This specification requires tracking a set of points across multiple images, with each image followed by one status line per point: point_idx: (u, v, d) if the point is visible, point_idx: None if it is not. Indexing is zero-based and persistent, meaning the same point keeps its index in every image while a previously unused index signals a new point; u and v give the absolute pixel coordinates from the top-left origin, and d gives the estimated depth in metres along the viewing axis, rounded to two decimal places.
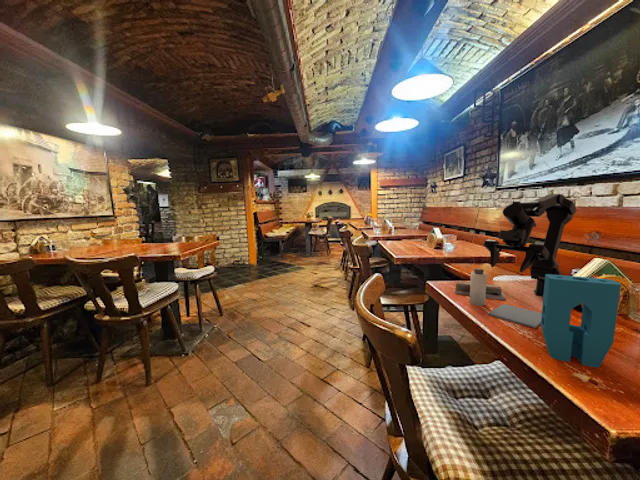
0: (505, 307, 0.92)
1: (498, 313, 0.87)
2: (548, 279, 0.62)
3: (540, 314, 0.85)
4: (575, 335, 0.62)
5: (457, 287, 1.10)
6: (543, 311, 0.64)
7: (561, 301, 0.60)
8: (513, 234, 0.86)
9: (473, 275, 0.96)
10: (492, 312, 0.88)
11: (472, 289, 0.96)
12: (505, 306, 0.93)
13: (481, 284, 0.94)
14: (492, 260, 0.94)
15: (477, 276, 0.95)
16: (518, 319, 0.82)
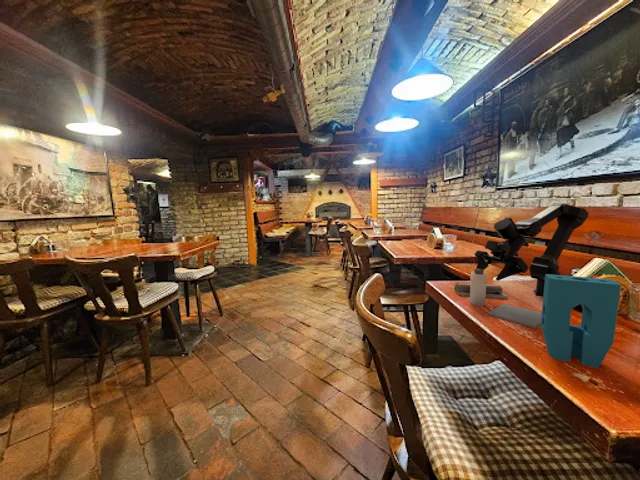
0: (505, 307, 0.92)
1: (498, 313, 0.87)
2: (548, 279, 0.62)
3: (540, 314, 0.85)
4: (575, 335, 0.62)
5: (459, 288, 1.08)
6: (543, 311, 0.64)
7: (561, 301, 0.60)
8: (496, 244, 0.94)
9: (473, 275, 0.96)
10: (492, 312, 0.88)
11: (472, 289, 0.96)
12: (505, 306, 0.93)
13: (481, 284, 0.94)
14: (477, 268, 1.02)
15: (477, 276, 0.95)
16: (518, 319, 0.82)
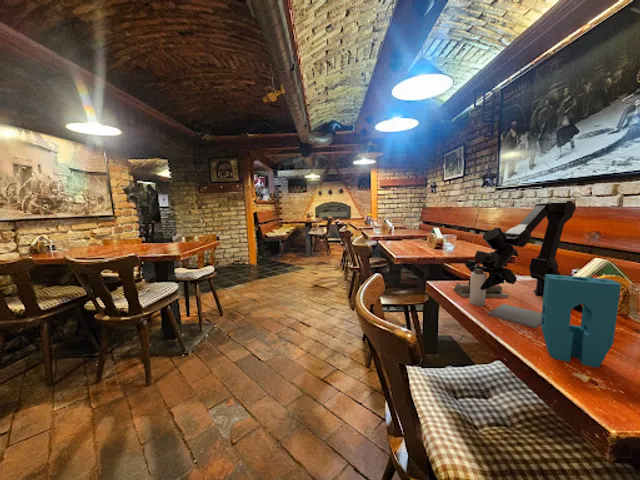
0: (505, 307, 0.92)
1: (498, 313, 0.87)
2: (548, 279, 0.62)
3: (540, 314, 0.85)
4: (575, 335, 0.62)
5: (463, 290, 1.07)
6: (543, 311, 0.64)
7: (561, 301, 0.60)
8: (485, 255, 0.93)
9: (473, 275, 0.96)
10: (492, 312, 0.88)
11: (472, 289, 0.96)
12: (505, 306, 0.93)
13: (481, 284, 0.94)
14: (470, 279, 1.00)
15: (477, 276, 0.95)
16: (518, 319, 0.82)
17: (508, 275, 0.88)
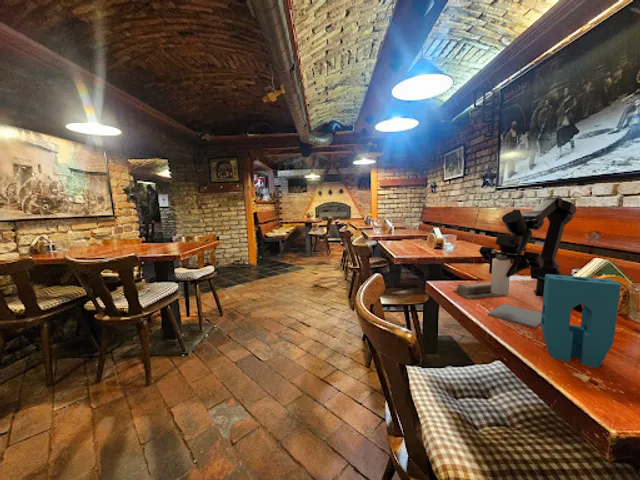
0: (505, 307, 0.92)
1: (498, 313, 0.87)
2: (548, 279, 0.62)
3: (540, 314, 0.85)
4: (575, 335, 0.62)
5: (468, 291, 1.04)
6: (543, 311, 0.64)
7: (561, 301, 0.60)
8: (510, 239, 0.86)
9: (497, 262, 0.88)
10: (492, 312, 0.88)
11: (496, 276, 0.88)
12: (505, 306, 0.93)
13: (506, 271, 0.87)
14: (491, 266, 0.92)
15: (502, 262, 0.87)
16: (518, 319, 0.82)
17: (538, 259, 0.82)
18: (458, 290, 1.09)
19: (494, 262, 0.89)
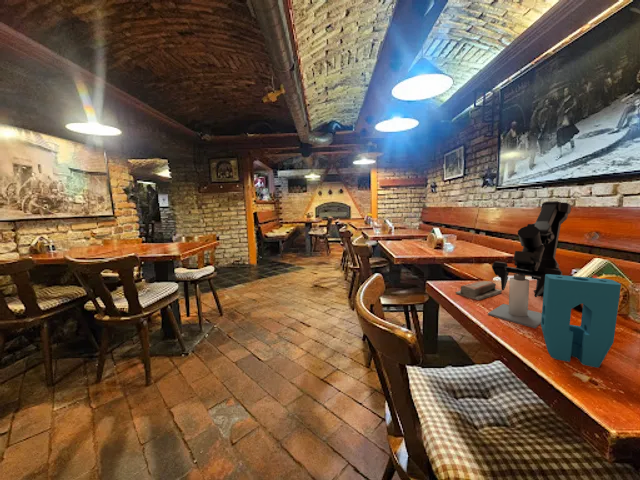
0: (505, 307, 0.92)
1: (498, 313, 0.87)
2: (548, 279, 0.62)
3: (540, 314, 0.85)
4: (575, 335, 0.62)
5: (475, 293, 1.03)
6: (543, 311, 0.64)
7: (561, 301, 0.60)
8: (530, 255, 0.82)
9: (517, 282, 0.84)
10: (492, 312, 0.88)
11: (516, 298, 0.84)
12: (505, 306, 0.93)
13: (526, 292, 0.83)
14: (503, 282, 0.88)
15: (522, 283, 0.83)
16: (518, 319, 0.82)
17: None
18: (463, 292, 1.06)
19: (513, 283, 0.85)
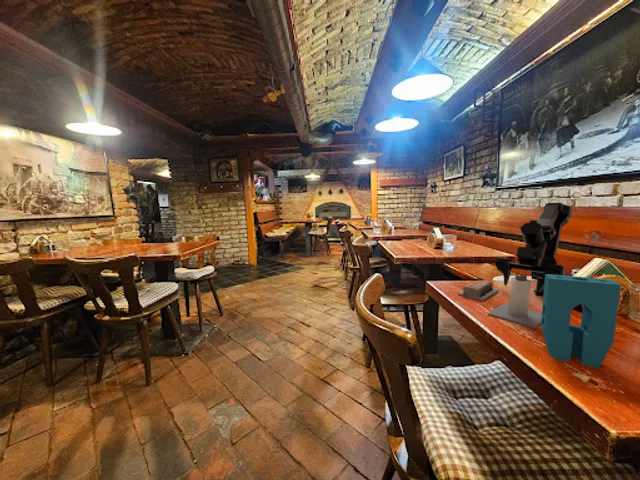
0: (505, 307, 0.92)
1: (498, 313, 0.87)
2: (548, 279, 0.62)
3: (540, 314, 0.85)
4: (575, 335, 0.62)
5: (479, 293, 1.02)
6: (543, 311, 0.64)
7: (561, 301, 0.60)
8: (533, 251, 0.83)
9: (518, 283, 0.83)
10: (492, 312, 0.88)
11: (517, 298, 0.84)
12: (505, 306, 0.93)
13: (527, 292, 0.83)
14: (505, 278, 0.90)
15: (523, 283, 0.82)
16: (518, 319, 0.82)
17: (563, 271, 0.80)
18: (466, 293, 1.05)
19: (514, 283, 0.84)
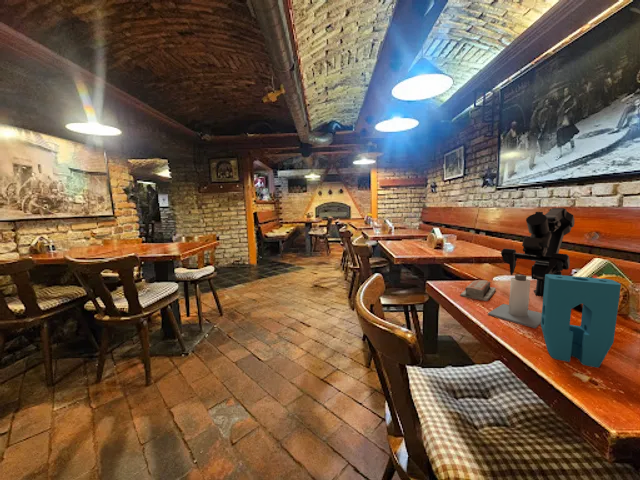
0: (505, 307, 0.92)
1: (498, 313, 0.87)
2: (548, 279, 0.62)
3: (540, 314, 0.85)
4: (575, 335, 0.62)
5: (482, 294, 1.01)
6: (543, 311, 0.64)
7: (561, 301, 0.60)
8: (539, 241, 0.86)
9: (518, 282, 0.83)
10: (492, 312, 0.88)
11: (517, 298, 0.84)
12: (505, 306, 0.93)
13: (527, 292, 0.83)
14: (511, 268, 0.93)
15: (523, 283, 0.83)
16: (518, 319, 0.82)
17: (567, 260, 0.83)
18: (469, 294, 1.04)
19: (514, 283, 0.84)
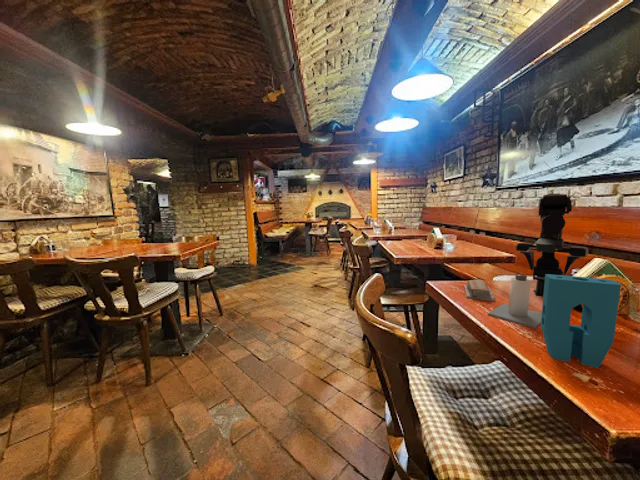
0: (505, 307, 0.92)
1: (498, 313, 0.87)
2: (548, 279, 0.62)
3: (540, 314, 0.85)
4: (575, 335, 0.62)
5: (489, 294, 1.01)
6: (543, 311, 0.64)
7: (561, 301, 0.60)
8: (553, 247, 0.85)
9: (518, 282, 0.83)
10: (492, 312, 0.88)
11: (517, 298, 0.84)
12: (505, 306, 0.93)
13: (527, 292, 0.83)
14: (530, 264, 0.95)
15: (523, 283, 0.83)
16: (518, 319, 0.82)
17: (585, 255, 0.83)
18: (476, 295, 1.02)
19: (514, 283, 0.84)
